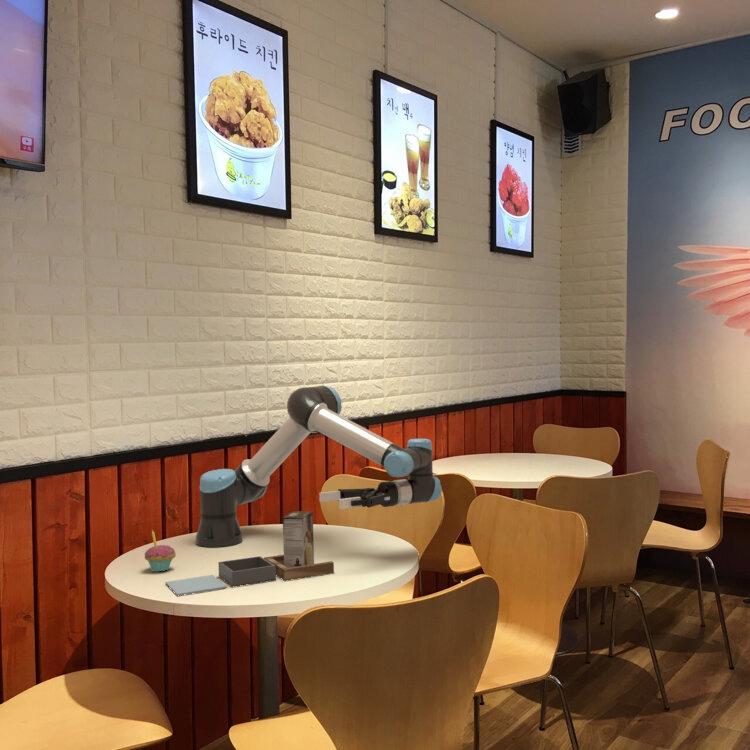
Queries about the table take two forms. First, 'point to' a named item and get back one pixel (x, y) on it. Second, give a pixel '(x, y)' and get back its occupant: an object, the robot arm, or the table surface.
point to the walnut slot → (299, 568)
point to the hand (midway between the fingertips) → (329, 500)
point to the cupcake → (159, 556)
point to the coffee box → (298, 539)
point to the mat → (195, 585)
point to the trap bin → (247, 571)
